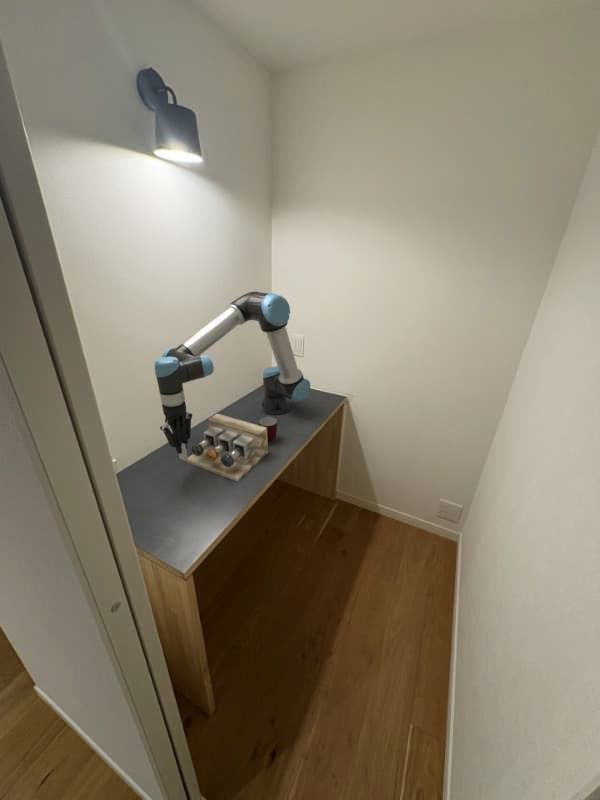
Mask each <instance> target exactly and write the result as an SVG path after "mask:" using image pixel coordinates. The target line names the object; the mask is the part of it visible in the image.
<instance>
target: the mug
mask: <svg viewBox="0 0 600 800" xmlns="http://www.w3.org/2000/svg"><path fill="white" fill-rule="evenodd" d="M258 425H259V426H263V427H266V428H267V439H268V444H272V443H273V442H274V440H275V439H276V436H277V431H278V420H277V418H275V417H273V416H266V417H265V416H264V417H262V418H260V419H259V421H258Z"/></svg>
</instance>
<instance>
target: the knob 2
mask: <svg viewBox="0 0 600 800" xmlns="http://www.w3.org/2000/svg"><path fill="white" fill-rule="evenodd" d="M243 453H244V450H243V448H242V447H241V446H237V447H236V448H235V449H234V450H232V451H231V452H230V453H229V454H225V455H224V456H223V457H222V458H221V461H222V463H223V465H224V466H226V467H231V466H232V465H233V464H234V461H235V460H236V459H237V458H239V457H240V456H241V455H242V454H243Z"/></svg>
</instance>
